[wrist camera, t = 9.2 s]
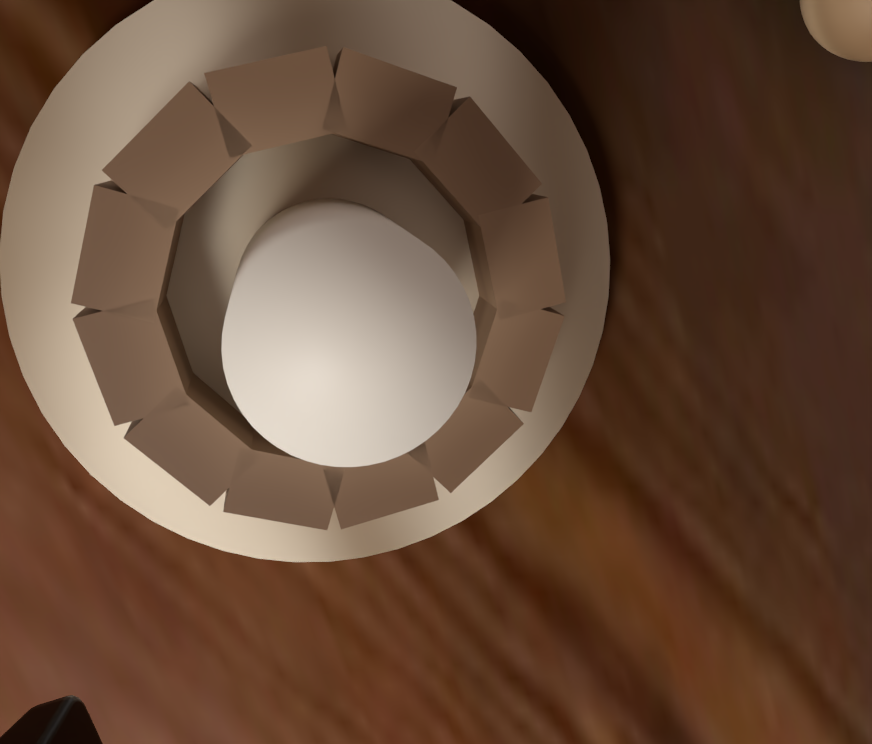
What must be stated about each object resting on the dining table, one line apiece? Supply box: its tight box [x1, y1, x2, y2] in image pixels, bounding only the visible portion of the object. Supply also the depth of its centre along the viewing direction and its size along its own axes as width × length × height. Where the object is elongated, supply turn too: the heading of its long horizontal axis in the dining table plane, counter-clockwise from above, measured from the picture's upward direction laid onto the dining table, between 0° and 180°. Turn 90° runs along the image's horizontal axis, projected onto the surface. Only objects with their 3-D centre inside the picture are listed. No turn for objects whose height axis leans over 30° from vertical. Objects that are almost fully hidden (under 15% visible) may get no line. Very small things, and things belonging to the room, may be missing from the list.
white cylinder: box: [221, 198, 476, 467], centre depth 16 cm, size 4×4×5 cm
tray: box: [0, 0, 610, 562], centre depth 18 cm, size 14×14×2 cm
